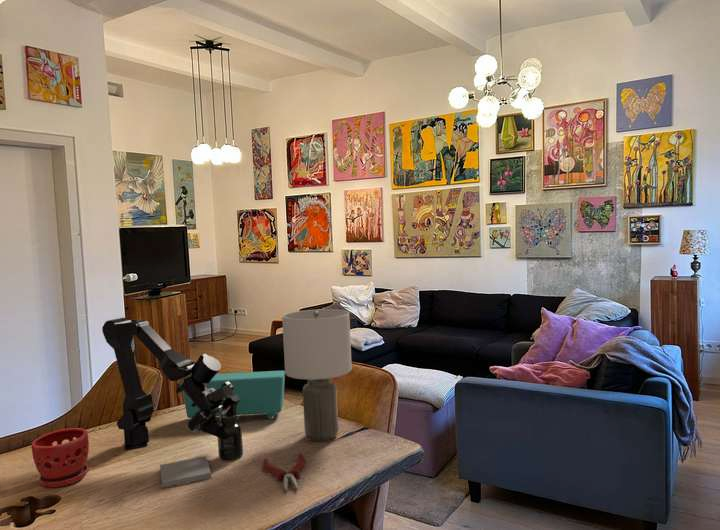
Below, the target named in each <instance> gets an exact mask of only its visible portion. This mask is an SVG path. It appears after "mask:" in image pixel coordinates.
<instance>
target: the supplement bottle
mask: <svg viewBox="0 0 720 530" xmlns="http://www.w3.org/2000/svg"><path fill="white" fill-rule="evenodd" d="M237 416H238V415H237V414H236V413H226V414H223V415H221V416H219V425H220V427H221V428H222V429H223V431H224V432H225V433H226V435H227V437H228V438H227V439H226V440H223V439H221V438H219V437H217V450H218V458H219V459H220V460H221V461H225V462H229V461H231V462H232V461H236V460H239V459H240V458H241V457H243V455H244V445H243V431H242V429H243V427H242V424H241V423H240V424H241V425H240V424H239V423H238V422H237V421H238V419H239V418H238V419H237ZM241 427H242V428H241Z"/></svg>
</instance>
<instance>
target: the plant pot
mask: <svg viewBox="0 0 720 530" xmlns="http://www.w3.org/2000/svg"><path fill="white" fill-rule="evenodd" d="M74 438H75V439H74ZM66 440H67V441H68V442H65V443H63V442H64V441H66ZM55 442H57V444H56V445H53V443H55ZM89 447H90V441H89V433H88V431H87V429H85V428H81V427H70V428H63V429H57V430H54V431H51V432H48V433H45V434H42V435H41V436H39V437H37V438H35V439H34V440H33V441H32V442H31V453H32V459H33V462H34V465H35V468H36V470H37V472H38V473H39V474H40V477H39V482H40V483H41V485H42V486H45V487H49V488H59V486H60V487H63V486H64V485H65V486H69V485H68V484H70V485H72V484H74V483H76V482H78V481H80V480H82V479H83V478H85V476H86V475H87V474H88V473H89V470H90V468H89V465H88V464H87V461H88V458H89V452H90V451H89V450H90V448H89ZM71 483H72V484H71Z"/></svg>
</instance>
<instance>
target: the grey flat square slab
mask: <svg viewBox="0 0 720 530" xmlns="http://www.w3.org/2000/svg"><path fill="white" fill-rule="evenodd" d="M159 471H160V477H161V487H162V488H163V487H166V488H169V487H168V486H171V487H173V486H172V485H176V486H179V485H178V484H181V485H184V484H183V483H186V484H188V483H187V482H191V483H195V482H194V481H196V482H200V481H199V480H201V481H204V479H205V480H210V479H212V472H211V468H210V466H209V463H208V459H207V457H206V456H201V457H200V456H199V457H195V458H190V459H183V460H180V461H173V462H169V463H163V464H159ZM209 478H210V479H209Z"/></svg>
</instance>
